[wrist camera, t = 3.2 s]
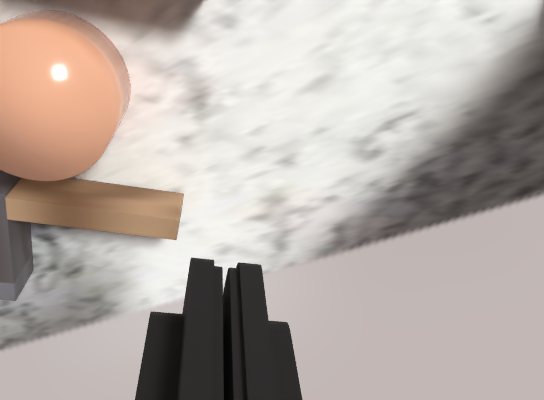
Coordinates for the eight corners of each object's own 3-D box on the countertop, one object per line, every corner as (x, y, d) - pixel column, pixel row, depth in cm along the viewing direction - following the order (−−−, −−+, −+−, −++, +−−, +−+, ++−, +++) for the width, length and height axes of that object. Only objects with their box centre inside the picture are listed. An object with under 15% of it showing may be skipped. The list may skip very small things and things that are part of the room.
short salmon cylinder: (134, 25, 20) (114, 47, 16) (127, 149, 23) (109, 190, 19) (-17, -5, 19) (-72, 12, 15) (-2, 130, 22) (-46, 169, 18)
